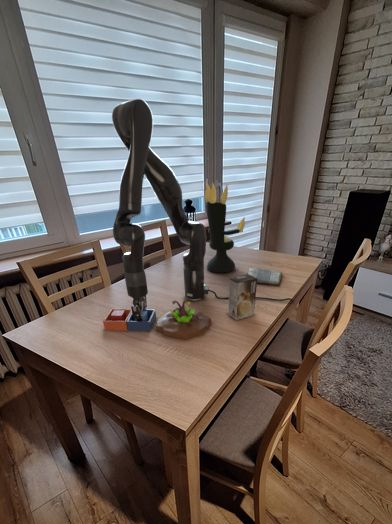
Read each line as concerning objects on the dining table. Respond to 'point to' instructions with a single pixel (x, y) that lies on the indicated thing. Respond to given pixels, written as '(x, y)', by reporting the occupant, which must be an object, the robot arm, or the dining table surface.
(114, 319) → the brick block
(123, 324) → the terracotta bin
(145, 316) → the blue block
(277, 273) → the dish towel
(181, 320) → the plant
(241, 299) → the coffee box
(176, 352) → the dining table surface
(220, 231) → the candelabra
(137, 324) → the slate bin
